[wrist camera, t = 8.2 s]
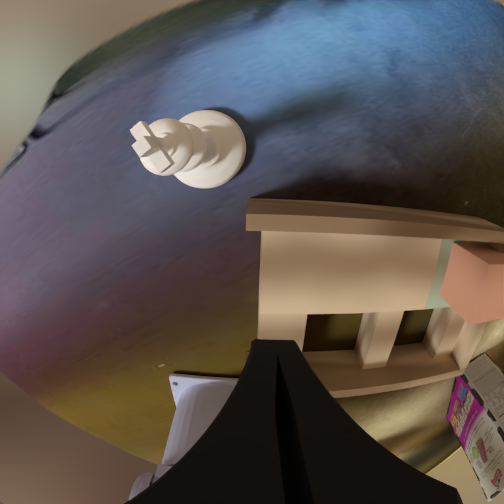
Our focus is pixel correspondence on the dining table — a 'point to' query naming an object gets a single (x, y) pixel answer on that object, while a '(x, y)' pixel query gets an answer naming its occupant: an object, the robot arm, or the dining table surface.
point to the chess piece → (192, 148)
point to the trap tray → (365, 287)
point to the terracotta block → (475, 282)
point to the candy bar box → (481, 421)
